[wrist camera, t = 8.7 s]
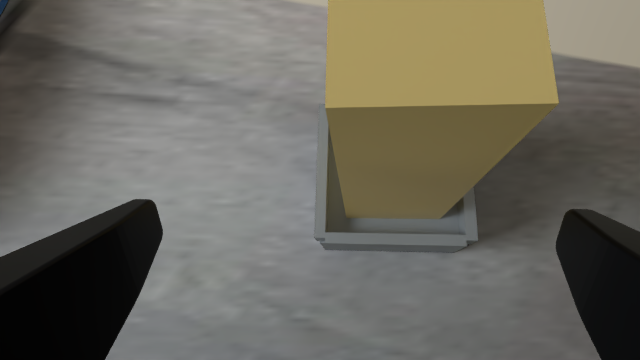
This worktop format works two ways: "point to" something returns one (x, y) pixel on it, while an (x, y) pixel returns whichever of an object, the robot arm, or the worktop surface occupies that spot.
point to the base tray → (380, 232)
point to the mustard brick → (430, 97)
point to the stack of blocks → (2, 5)
